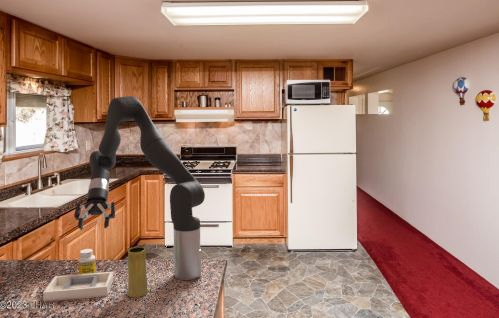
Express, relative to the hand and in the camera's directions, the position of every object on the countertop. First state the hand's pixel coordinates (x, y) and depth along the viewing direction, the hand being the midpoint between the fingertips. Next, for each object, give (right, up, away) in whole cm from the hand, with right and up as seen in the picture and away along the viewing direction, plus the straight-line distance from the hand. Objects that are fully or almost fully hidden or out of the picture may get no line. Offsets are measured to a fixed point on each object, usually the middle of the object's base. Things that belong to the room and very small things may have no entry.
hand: (93, 228), depth 129 cm
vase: (+23, -17, -20) cm, 35 cm away
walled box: (+4, -16, -18) cm, 25 cm away
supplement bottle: (+2, -16, -9) cm, 18 cm away
